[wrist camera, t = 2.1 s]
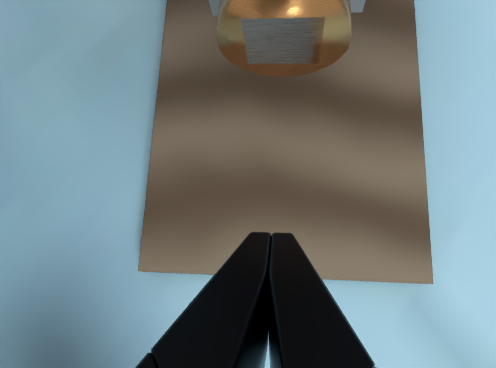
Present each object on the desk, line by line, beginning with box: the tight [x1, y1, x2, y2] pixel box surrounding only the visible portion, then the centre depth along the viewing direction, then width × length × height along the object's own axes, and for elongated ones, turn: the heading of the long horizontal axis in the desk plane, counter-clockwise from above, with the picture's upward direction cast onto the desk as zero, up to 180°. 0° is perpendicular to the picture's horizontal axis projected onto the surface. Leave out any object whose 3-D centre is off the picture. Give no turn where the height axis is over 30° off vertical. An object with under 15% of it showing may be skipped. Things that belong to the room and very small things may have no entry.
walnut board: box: [138, 0, 433, 284], centre depth 23 cm, size 20×15×1 cm
